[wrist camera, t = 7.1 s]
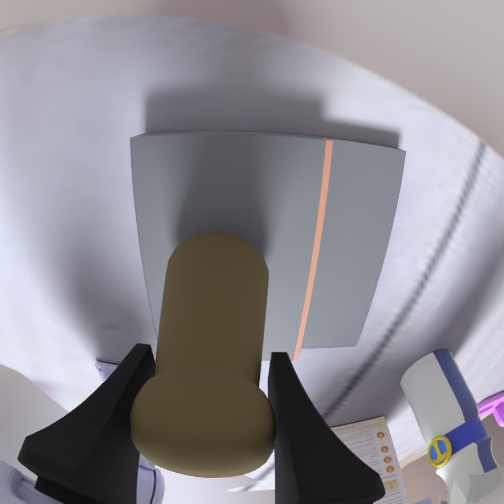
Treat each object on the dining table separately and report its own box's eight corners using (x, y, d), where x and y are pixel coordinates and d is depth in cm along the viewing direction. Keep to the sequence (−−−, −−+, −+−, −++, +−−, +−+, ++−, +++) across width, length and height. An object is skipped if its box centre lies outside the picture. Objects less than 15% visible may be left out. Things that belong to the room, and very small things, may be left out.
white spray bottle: (385, 395, 30) (430, 565, 8) (417, 349, 26) (493, 546, 4) (430, 389, 31) (482, 535, 9) (463, 346, 27) (538, 505, 5)
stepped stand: (352, 337, 25) (360, 357, 23) (167, 333, 25) (161, 354, 22) (397, 148, 17) (416, 155, 15) (145, 133, 17) (130, 137, 14)
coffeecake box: (284, 450, 37) (290, 558, 20) (282, 432, 34) (290, 559, 16) (375, 434, 36) (399, 535, 19) (385, 414, 33) (416, 529, 16)
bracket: (511, 387, 37) (523, 408, 31) (498, 402, 39) (509, 423, 33) (477, 402, 36) (489, 428, 30) (463, 417, 39) (474, 442, 33)
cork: (146, 261, 16) (74, 439, 6) (237, 213, 15) (233, 425, 5) (202, 328, 19) (185, 490, 9) (286, 295, 17) (317, 474, 8)
